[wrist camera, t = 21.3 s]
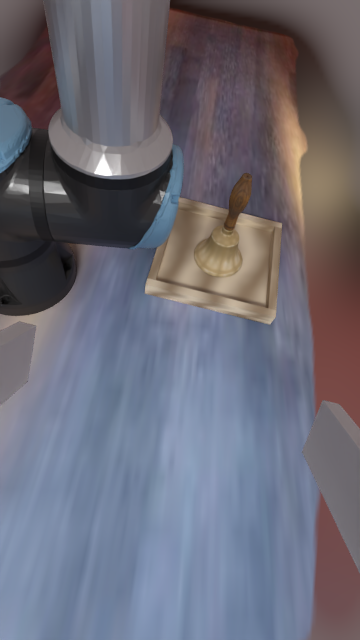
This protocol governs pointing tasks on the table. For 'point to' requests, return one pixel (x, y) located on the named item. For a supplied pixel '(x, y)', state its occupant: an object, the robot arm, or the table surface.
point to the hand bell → (225, 237)
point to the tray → (209, 291)
